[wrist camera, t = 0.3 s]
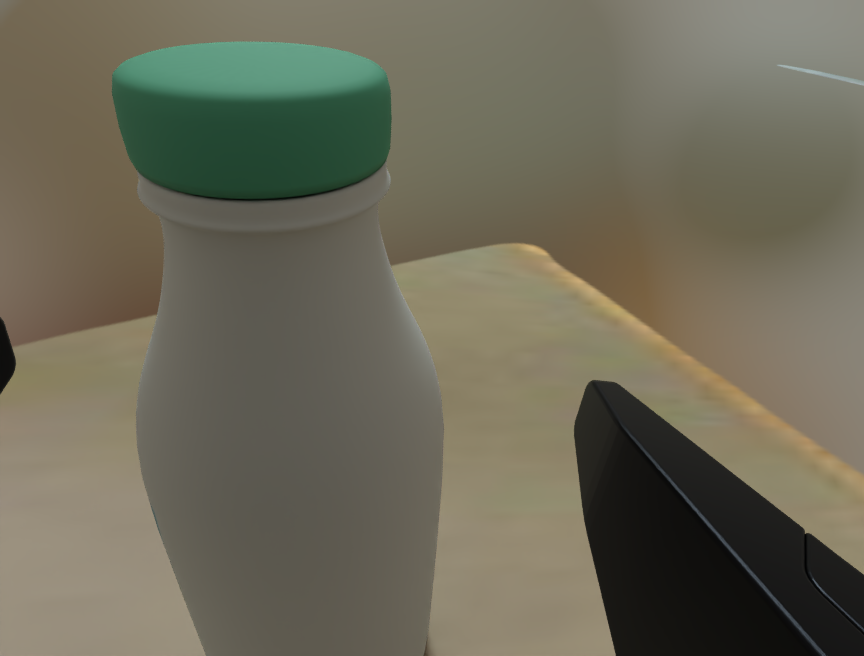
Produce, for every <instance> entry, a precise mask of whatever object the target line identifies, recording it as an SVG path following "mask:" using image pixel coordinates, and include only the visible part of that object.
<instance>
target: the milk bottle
mask: <svg viewBox="0 0 864 656" xmlns="http://www.w3.org/2000/svg"><path fill="white" fill-rule="evenodd" d="M112 96H113V100H114V105H115V110H116V114H117V119H118V124H119V128H120V131H121V134H122V137H123V141H124V143H125V147H126V150H127V153H128V156H129V158H130V160H131V162H132V163H133V165H134V166H135V168H136V170H137V173H138V178H139V182H138V187H137V192H138V196H139V198H140V200H141V202H142V203H143V204H144V205H145V206H146V207H147V208H148V209H149V210H150V211H152V212H153V213H155V214H156V215H158V216H159V218H160V221H161V225H162V230H163V236H164V270H163V282H162V290H161V299H160V304H159V309H158V313H157V318H156V322H155V326H154V329H153V333H152V336H151V340H150V343H149V346H148V350H147V353H146V357H145V361H144V365H143V369H142V373H141V378H140V382H139V389H138V399H137V408H136V435H137V448H138V454H139V460H140V466H141V472H142V477H143V481H144V485H145V488H146V491H147V495H148V498H149V501H150V504H151V508H152V511H153V514H154V517H155V521H156V524H157V527H158V530H159V533H160V536H161V538H162V541H163V544H164V546H165V549H166V552H167V554H168V557H169V560H170V562H171V565H172V568H173V570H174V573H175V576H176V579H177V581H178V584H179V587H180V589H181V592H182V595H183V597H184V600H185V602H186V605H187V608H188V610H189V613H190V615H191V618H192V620H193V623H194V626H195V628H196V631H197V633H198V636H199V638H200V641H201V643H202V646H203V649H204V651H205V654H206V656H424V652H425V647H426V641H427V635H428V628H429V619H430V609H431V599H432V589H433V579H434V568H435V558H436V547H437V536H438V523H439V511H440V499H441V487H442V468H443V439H444V424H443V412H442V400H441V392H440V388H439V383H438V378H437V374H436V369H435V366H434V363H433V360H432V357H431V354H430V351H429V348H428V346H427V343H426V341H425V339H424V337H423V335H422V332H421V330H420V328H419V326H418V324H417V322H416V320H415V318H414V317H413V315H412V313H411V311H410V309H409V307H408V305H407V303H406V301H405V299H404V297H403V295H402V293H401V291H400V289H399V286H398V284H397V282H396V280H395V277H394V275H393V272H392V269H391V266H390V263H389V260H388V257H387V254H386V250H385V247H384V243H383V239H382V236H381V232H380V226H379V219H378V202H379V201H380V200H381V199H382V198H383V197H384V196H385V195H386V193H387V191H388V190H389V187H390V181H391V179H390V175H389V172H388V170H387V161H386V159H387V156H388V153H389V150H390V138H391V93H390V86H389V83H388V78H387V75H386V72H385V71H384V70H383V69H382V68H381V67H380V66H379V65H378V64H376V63H375V62H373V61H371V60H369V59H367V58H364V57H361V56H359V55H356V54H352V53H349V52H346V51H341V50H337V49H331V48H326V47H320V46H312V45H304V44H292V43H276V42H218V43H202V44H193V45H183V46H176V47H170V48H164V49H160V50H155V51H152V52H148V53H145V54H143V55H139V56H136V57H133V58H131V59H129V60H127V61H125V62H123V63H122V64H121V65H120V66H119V67H118V68H117V69H116V70H115V71H114V73H113V75H112Z"/></svg>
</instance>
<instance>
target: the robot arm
mask: <svg viewBox="0 0 864 656" xmlns="http://www.w3.org/2000/svg"><path fill="white" fill-rule="evenodd" d="M15 366H16V359H15V355H14V352H13V349H12V346H11V343H10V339H9V336H8V333H7V330H6V327H5V324H4V321H3V320H2V319H1V317H0V394H1V392H2V391H3V389H4V388H5V386H6V385H7V383H8V382H9V380H10V379H11V377H12V375H13V373H14V371H15ZM574 438H575V447H576V456H577V465H578V473H579V482H580V491H581V499H582V508H583V515H584V522H585V526H586V531H587V536H588V540H589V544H590V548H591V553H592V557H593V561H594V565H595V569H596V574H597V578H598V582H599V586H600V590H601V595H602V599H603V603H604V607H605V611H606V616H607V620H608V624H609V628H610V632H611V637H612V641H613V645H614V649H615V653H616V656H864V575H863V574H862V573H861V572H859V571H858V570H857V569H856V568H854V567H853V566H852V565H850V564H849V563H848V562H846V561H845V560H844V559H842V558H841V557H840V556H838V555H837V554H836V553H834V552H833V551H832V550H831V549H829V548H828V547H827V546H826V545H824V544H823V543H822V542H820V541H819V540H818V539H817V538H815V537H814V536H813V535H812V534H810V533H806V534H805V530H804V529H803V528H802V527H801V526H800V525H799V524H797V523H796V522H795V521H793V520H792V519H791V518H790V517H788V516H787V515H786V514H784V513H783V512H782V511H781V510H779V509H778V508H777V507H775V506H774V505H773V504H772V503H770V502H769V501H768V500H766V499H765V498H764V497H763V496H761V495H760V494H759V493H757V492H756V491H755V490H754V489H752V488H751V487H750V486H748V485H747V484H746V483H745V482H743V481H742V480H741V479H739V478H738V477H737V476H736V475H734V474H733V473H732V472H731V471H729V470H728V469H727V468H725V467H724V466H723V465H722V464H720V463H719V462H718V461H716V460H715V459H714V458H713V457H711V456H710V455H709V454H707V453H706V452H705V451H704V450H702V449H701V448H700V447H698V446H697V445H696V444H695V443H693V442H692V441H691V440H689V439H688V438H687V437H686V436H684V435H683V434H682V433H680V432H679V431H678V430H677V429H675V428H674V427H673V426H671V425H670V424H669V423H668V422H666V421H665V420H664V419H663V418H661V417H660V416H659V415H657V414H656V413H655V412H654V411H652V410H651V409H650V408H648V407H647V406H646V405H645V404H643V403H642V402H641V401H639V400H638V399H637V398H636V397H634V396H633V395H632V394H630V393H629V392H628V391H627V390H625V389H624V388H623V387H621V386H620V385H619V384H617V383H615V382H608V381H599V380H592V381H590V382H589V383H588V385H587V386H586V389H585V392H584V395H583V398H582V401H581V404H580V408H579V411H578V414H577V417H576V420H575V425H574Z"/></svg>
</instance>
